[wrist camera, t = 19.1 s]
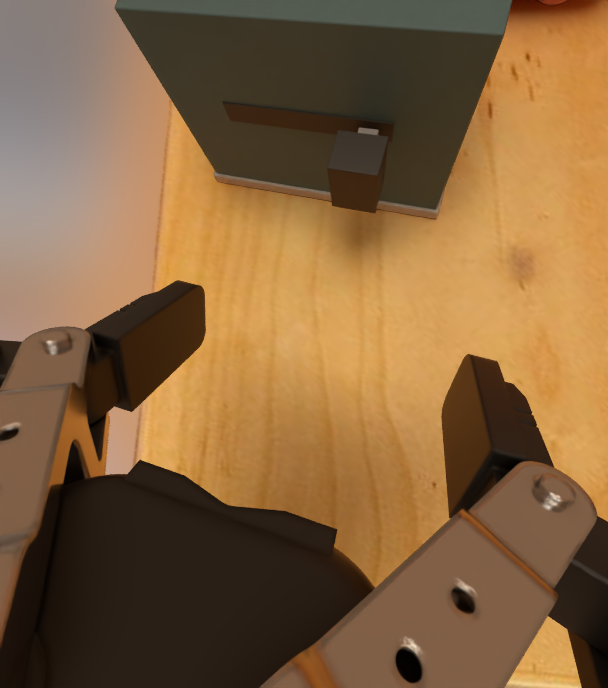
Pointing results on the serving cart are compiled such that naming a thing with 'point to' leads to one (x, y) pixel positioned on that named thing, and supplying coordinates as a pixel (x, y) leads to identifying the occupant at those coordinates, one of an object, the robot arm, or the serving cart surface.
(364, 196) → the slider
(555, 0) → the teapot
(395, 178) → the toaster
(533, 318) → the serving cart surface
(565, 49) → the serving cart surface
